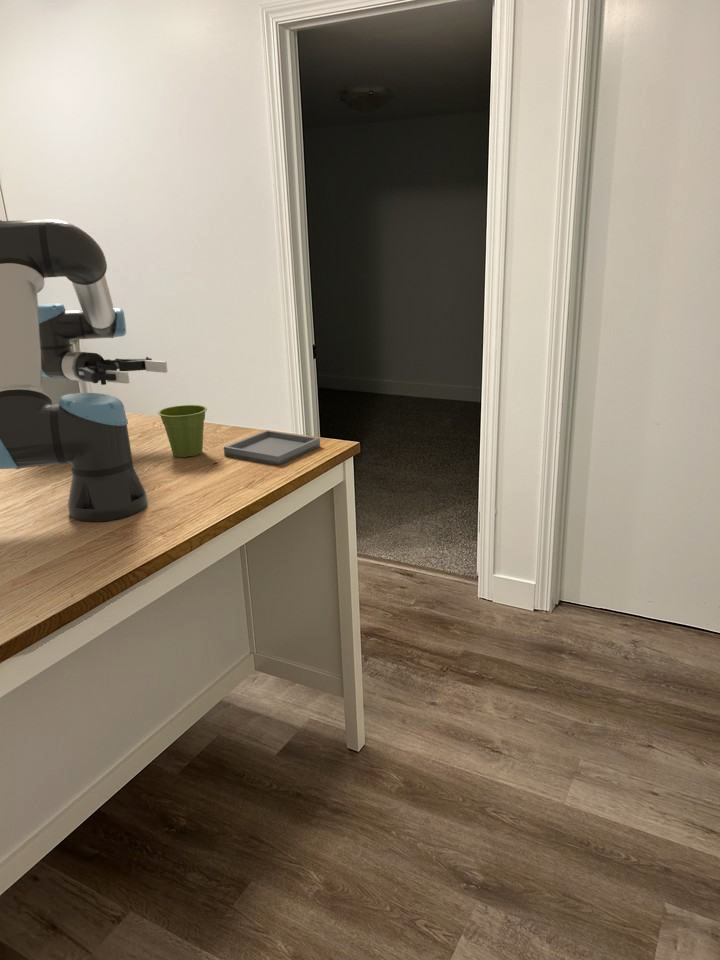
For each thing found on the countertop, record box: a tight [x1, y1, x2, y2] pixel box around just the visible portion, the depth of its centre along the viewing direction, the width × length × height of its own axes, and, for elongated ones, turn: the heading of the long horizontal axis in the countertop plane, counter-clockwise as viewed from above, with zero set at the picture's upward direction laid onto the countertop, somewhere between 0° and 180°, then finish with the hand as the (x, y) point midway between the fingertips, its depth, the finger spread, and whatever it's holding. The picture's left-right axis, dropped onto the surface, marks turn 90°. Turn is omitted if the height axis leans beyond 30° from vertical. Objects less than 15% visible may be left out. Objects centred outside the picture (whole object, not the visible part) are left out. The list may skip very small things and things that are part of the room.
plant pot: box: [157, 404, 208, 458], centre depth 179 cm, size 12×12×11 cm
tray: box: [223, 429, 321, 466], centre depth 181 cm, size 17×17×2 cm
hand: (147, 372), depth 178 cm, fingers open, 13 cm apart
